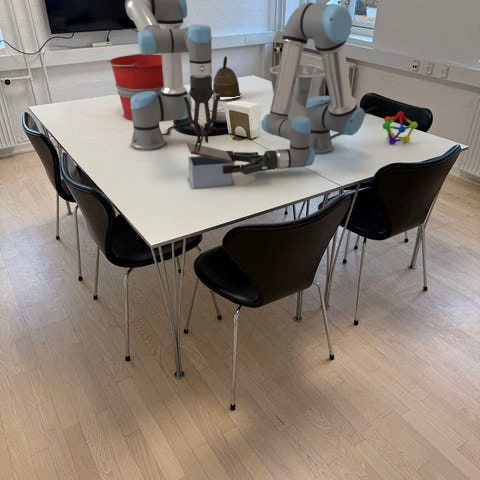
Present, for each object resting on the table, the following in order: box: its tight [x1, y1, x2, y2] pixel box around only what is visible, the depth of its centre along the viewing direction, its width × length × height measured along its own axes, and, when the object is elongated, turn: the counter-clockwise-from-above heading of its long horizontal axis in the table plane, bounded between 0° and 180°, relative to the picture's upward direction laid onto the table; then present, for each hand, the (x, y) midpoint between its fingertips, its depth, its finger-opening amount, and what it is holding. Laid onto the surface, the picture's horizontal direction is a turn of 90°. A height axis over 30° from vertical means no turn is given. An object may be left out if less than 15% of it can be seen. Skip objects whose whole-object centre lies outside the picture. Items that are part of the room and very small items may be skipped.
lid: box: [186, 124, 233, 163], centre depth 164 cm, size 16×10×9 cm, turn 104°
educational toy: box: [382, 110, 418, 145], centre depth 207 cm, size 16×13×15 cm
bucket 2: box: [269, 63, 327, 120], centre depth 226 cm, size 30×30×28 cm
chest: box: [187, 155, 233, 190], centre depth 170 cm, size 15×10×9 cm, turn 104°
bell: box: [212, 56, 242, 97], centre depth 278 cm, size 19×26×20 cm
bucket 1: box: [106, 52, 164, 121], centre depth 240 cm, size 35×35×30 cm
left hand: (202, 141), depth 163 cm, fingers closed on lid, 2 cm apart
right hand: (220, 164), depth 170 cm, fingers closed on chest, 10 cm apart
